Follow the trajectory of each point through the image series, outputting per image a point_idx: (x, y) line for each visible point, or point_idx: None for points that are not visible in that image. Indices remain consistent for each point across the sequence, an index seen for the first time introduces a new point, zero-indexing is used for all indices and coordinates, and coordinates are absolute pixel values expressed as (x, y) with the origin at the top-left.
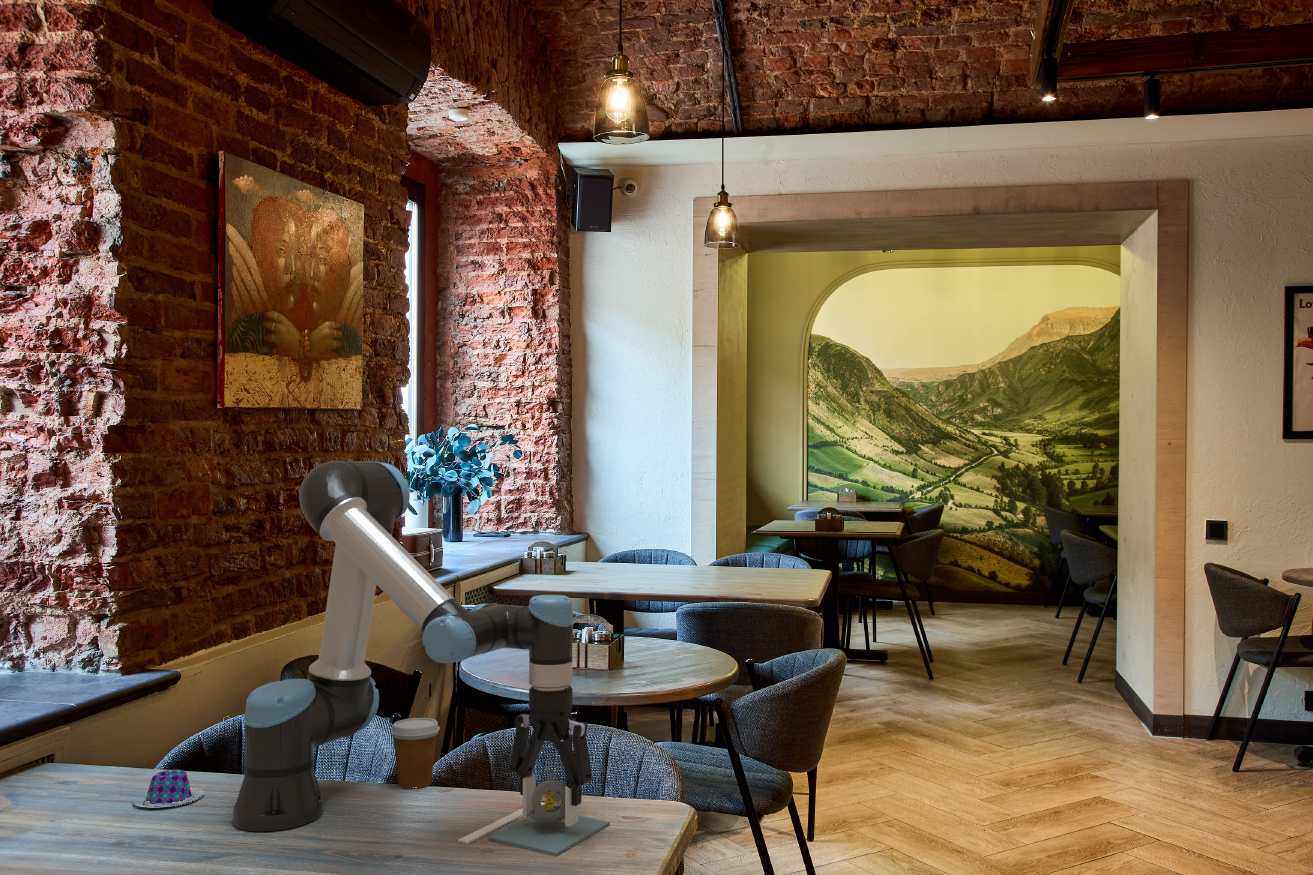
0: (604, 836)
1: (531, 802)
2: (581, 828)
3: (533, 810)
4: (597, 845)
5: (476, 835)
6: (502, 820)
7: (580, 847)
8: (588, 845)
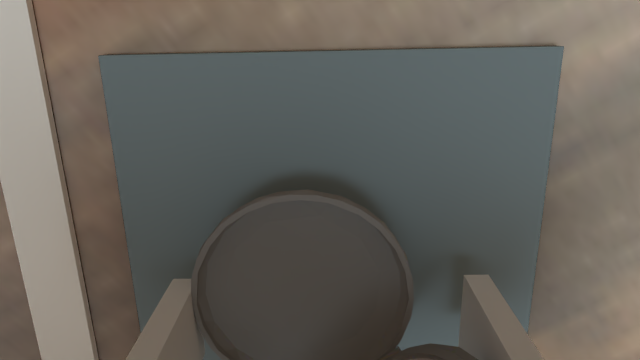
0: (599, 196)
1: (182, 353)
2: (464, 205)
3: (201, 314)
4: (614, 298)
5: None
6: (46, 291)
7: (552, 347)
8: (575, 316)
